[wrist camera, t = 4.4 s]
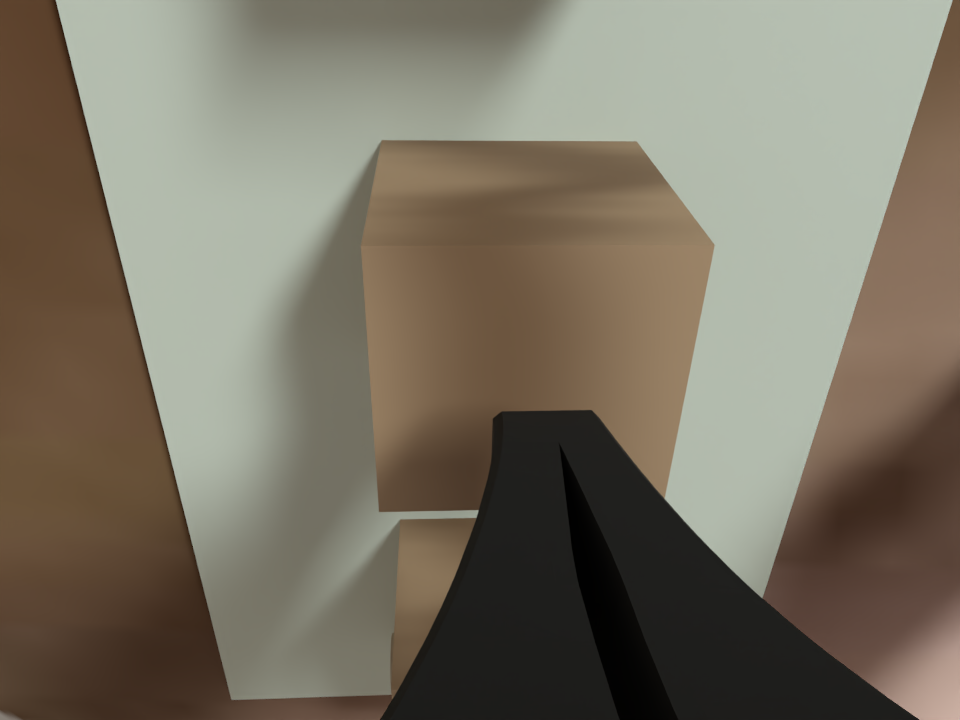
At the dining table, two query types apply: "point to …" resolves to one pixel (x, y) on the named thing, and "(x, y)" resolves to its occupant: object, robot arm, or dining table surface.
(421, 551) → the one dot block
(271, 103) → the sage mat
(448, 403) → the plain block
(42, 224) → the dining table surface
